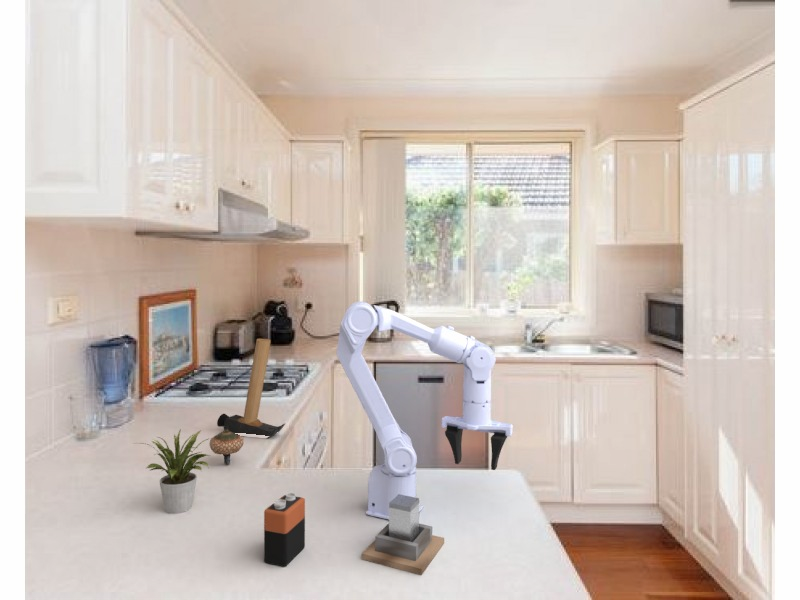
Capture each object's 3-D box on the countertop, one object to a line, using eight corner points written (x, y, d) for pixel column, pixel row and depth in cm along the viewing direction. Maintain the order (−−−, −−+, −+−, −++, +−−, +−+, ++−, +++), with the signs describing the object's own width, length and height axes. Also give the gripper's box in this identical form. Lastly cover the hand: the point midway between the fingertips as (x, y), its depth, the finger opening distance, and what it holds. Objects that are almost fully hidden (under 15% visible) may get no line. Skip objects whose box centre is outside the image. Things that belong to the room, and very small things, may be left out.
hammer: (282, 441, 155) (298, 346, 152) (273, 447, 150) (291, 348, 147) (225, 424, 160) (240, 331, 157) (215, 428, 155) (231, 333, 152)
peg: (388, 548, 88) (389, 502, 88) (398, 537, 92) (398, 494, 91) (409, 553, 86) (410, 507, 86) (418, 542, 90) (419, 498, 90)
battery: (262, 563, 85) (262, 504, 84) (284, 543, 91) (284, 488, 91) (285, 568, 83) (285, 508, 83) (305, 547, 90) (306, 492, 89)
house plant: (137, 534, 94) (136, 447, 93) (129, 505, 105) (128, 428, 105) (217, 515, 102) (216, 434, 101) (201, 490, 113) (201, 418, 113)
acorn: (206, 463, 130) (205, 424, 130) (238, 457, 135) (238, 420, 134) (213, 473, 123) (213, 432, 123) (247, 466, 128) (247, 427, 128)
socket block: (361, 559, 86) (361, 539, 86) (389, 530, 96) (389, 512, 96) (421, 575, 82) (421, 553, 82) (444, 543, 92) (444, 524, 92)
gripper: (436, 400, 104) (436, 466, 104) (507, 408, 98) (506, 478, 98) (448, 393, 110) (447, 455, 111) (515, 400, 104) (514, 466, 105)
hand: (475, 465), depth 105 cm, fingers open, 7 cm apart
